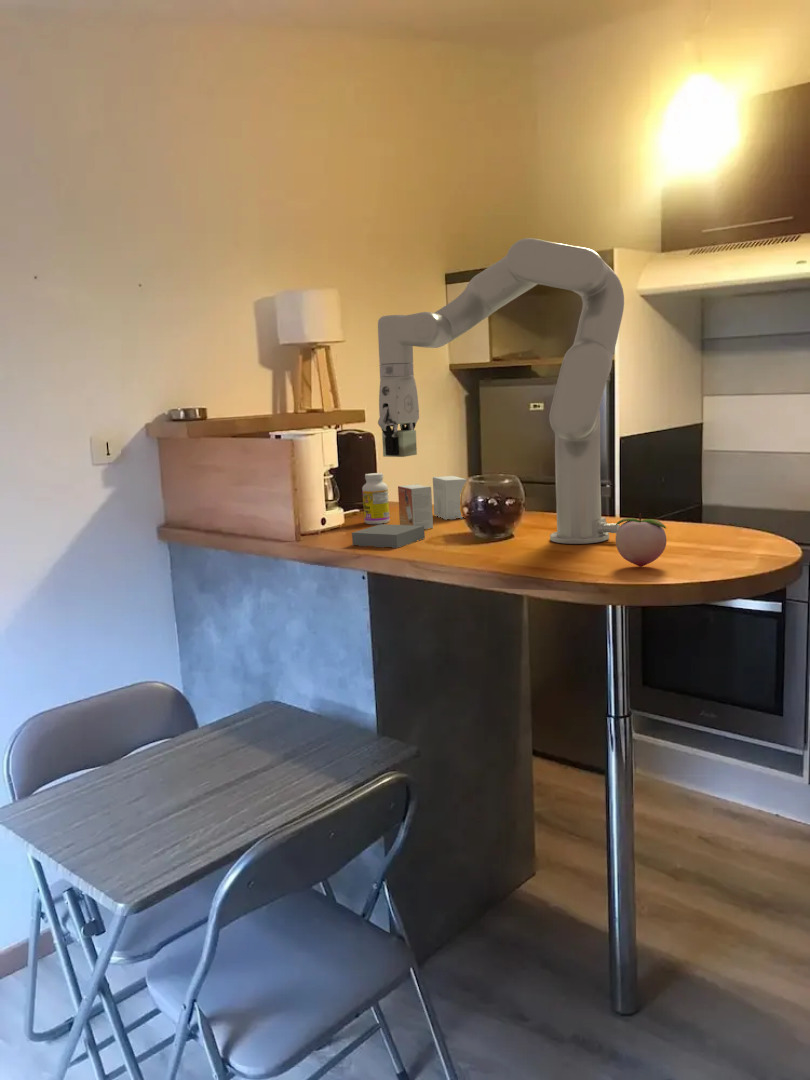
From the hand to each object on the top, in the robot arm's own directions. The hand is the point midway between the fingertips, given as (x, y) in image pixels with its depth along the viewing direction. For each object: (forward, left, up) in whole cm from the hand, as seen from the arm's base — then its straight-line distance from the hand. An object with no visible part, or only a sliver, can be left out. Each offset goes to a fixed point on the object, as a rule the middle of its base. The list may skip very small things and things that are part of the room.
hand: (399, 453), depth 207 cm
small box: (+7, -17, -20) cm, 28 cm away
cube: (0, 0, -1) cm, 1 cm away
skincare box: (+7, -35, -20) cm, 41 cm away
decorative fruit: (-59, +13, -20) cm, 64 cm away
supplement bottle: (+22, -22, -20) cm, 37 cm away
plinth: (+3, +2, -20) cm, 21 cm away
